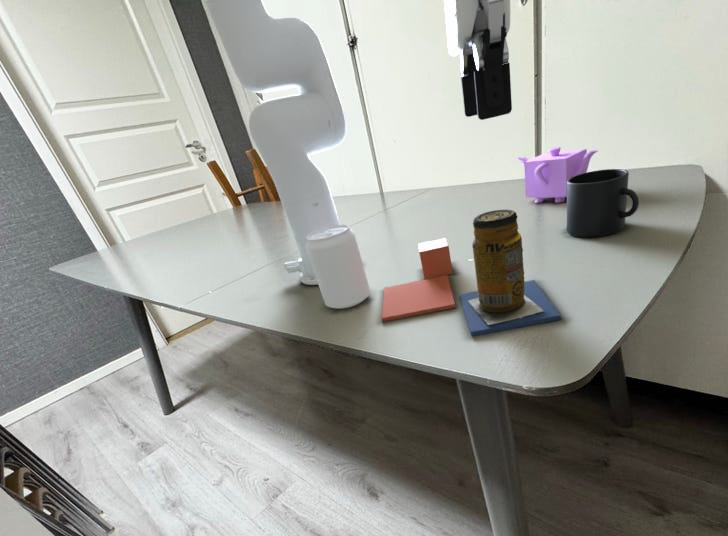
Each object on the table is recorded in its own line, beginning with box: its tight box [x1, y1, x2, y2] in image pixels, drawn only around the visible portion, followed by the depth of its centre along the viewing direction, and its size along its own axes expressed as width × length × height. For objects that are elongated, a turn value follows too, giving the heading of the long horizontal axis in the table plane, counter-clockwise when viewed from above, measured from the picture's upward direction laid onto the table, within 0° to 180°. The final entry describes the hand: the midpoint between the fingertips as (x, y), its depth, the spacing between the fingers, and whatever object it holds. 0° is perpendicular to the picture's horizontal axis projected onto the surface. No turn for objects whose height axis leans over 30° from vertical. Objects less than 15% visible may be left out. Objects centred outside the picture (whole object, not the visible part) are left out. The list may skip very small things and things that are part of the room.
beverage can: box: [306, 224, 371, 310], centre depth 67 cm, size 8×8×12 cm
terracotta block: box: [418, 237, 454, 280], centre depth 71 cm, size 5×5×5 cm
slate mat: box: [459, 279, 562, 337], centre depth 55 cm, size 11×12×1 cm
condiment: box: [469, 209, 543, 325], centre depth 51 cm, size 7×8×12 cm
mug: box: [566, 168, 640, 238], centre depth 70 cm, size 9×12×9 cm
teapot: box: [516, 146, 600, 204], centre depth 94 cm, size 15×13×11 cm
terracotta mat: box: [381, 275, 457, 322], centre depth 64 cm, size 11×12×1 cm
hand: (486, 115), depth 43 cm, fingers open, 9 cm apart
